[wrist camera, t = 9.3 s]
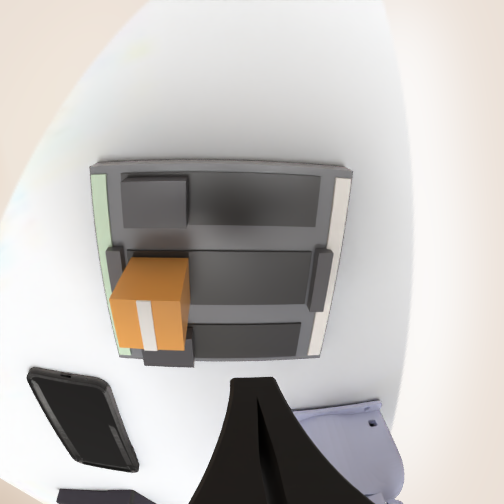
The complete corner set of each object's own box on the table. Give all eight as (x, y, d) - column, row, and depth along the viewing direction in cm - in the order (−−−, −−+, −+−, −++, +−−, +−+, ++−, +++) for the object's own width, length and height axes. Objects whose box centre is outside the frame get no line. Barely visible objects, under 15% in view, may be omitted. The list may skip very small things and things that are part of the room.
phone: (75, 462, 26) (22, 371, 20) (77, 454, 27) (27, 362, 21) (141, 473, 27) (107, 386, 21) (142, 465, 28) (110, 375, 22)
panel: (344, 166, 16) (362, 175, 14) (315, 346, 21) (324, 370, 19) (98, 162, 15) (80, 171, 13) (123, 345, 20) (115, 370, 18)
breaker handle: (188, 257, 16) (180, 302, 12) (190, 301, 17) (184, 351, 14) (131, 257, 16) (108, 300, 12) (136, 300, 17) (119, 348, 13)
